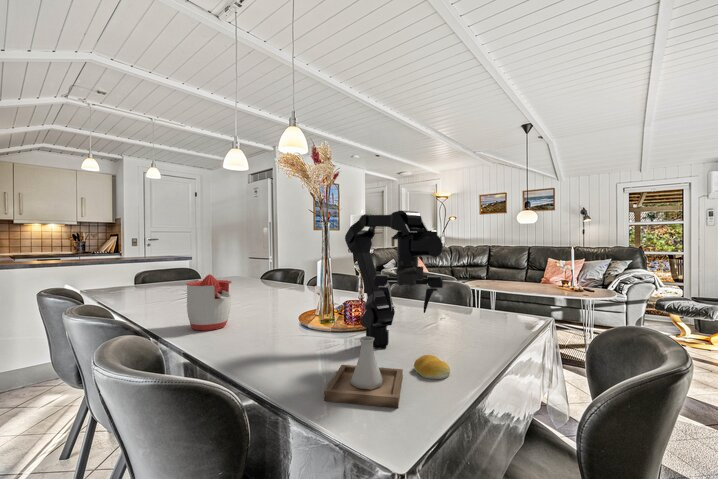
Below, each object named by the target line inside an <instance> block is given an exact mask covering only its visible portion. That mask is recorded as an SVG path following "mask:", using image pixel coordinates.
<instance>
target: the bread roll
mask: <svg viewBox="0 0 718 479" xmlns="http://www.w3.org/2000/svg"><path fill="white" fill-rule="evenodd" d="M413 368H414V370H415V371H416V373H417V374H419V375H420V376H421V377H423V378H424V379H429V380H430V379H431V380H442V379H447V378H448V376H450V374H451V368H450V365H449V364H448V363H447V362H446V361H442V360H441V359H440V358H439V357H437V356H435V355H432V354H424V355H421V356H420V357H418V358H416V360H415V361H414V363H413Z"/></svg>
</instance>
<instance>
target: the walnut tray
mask: <svg viewBox="0 0 718 479" xmlns="http://www.w3.org/2000/svg"><path fill="white" fill-rule="evenodd" d="M355 368H356V365H354V364H353V365H351V364H341V365H340V366H339V368H338V369H337V371H336V372H335V374H334V376H332V378H331V380H330V381H329V383H328V384H327V386H326V387H325V389H324V391H323V401H324V402H331V403H332V402H333V403H343V404H353V405H363V406H371V407H373V406H374V407H383V408H384V407H385V408H395V409H399V404H400V400H401V399H400V398H401V393H402V392H401V391H402V383H403V376H404V374H403V373H404V372H403V371H404V369H402V368H392V367H391V368H389V367H379V370H380V373H381V375H382V378H383V383H382V385H381V386H380V387H377V388H375V389H372V390H370V389H361V388H357V387H355V386H353V385H351V384H350V382H351V379H352V376H353V374H354V371H355Z"/></svg>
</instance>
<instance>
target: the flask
mask: <svg viewBox="0 0 718 479" xmlns="http://www.w3.org/2000/svg"><path fill="white" fill-rule="evenodd" d="M373 341H374V338H373V337H367V336H366V335H365V336H361V337H360V338H359V342H360V351H359V356H358V360H357V362H356V365H355V366H356V368H355V371H354V374H353V376H352V379H351V382H350V384H351V385H353V386H355V387H357V388H361V389H370V390H372V389H375V388H377V387H380V386H381V385H382V383H383V378H382V375H381V373H380V370H379V368H380V367H379V365H378V361H377V358H376V356H375V350H374V348H373Z"/></svg>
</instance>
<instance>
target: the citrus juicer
mask: <svg viewBox="0 0 718 479" xmlns="http://www.w3.org/2000/svg"><path fill="white" fill-rule="evenodd" d="M231 300H232V281H231V280H227V279H226V280H225V279H223V280H221V279H219V280H218V279H216V278H215V276H213V275H212V274H207V275H206V276H205V277H204V278H203V279H202V280H197V281H194V280H193V281H190V282H187V283H186V313H187V317H188V320H189V324H190V326H191V329H193V330H195V331H204V332H208V331H211V330H217V329H221V328H224V327H225V326H227V324H228V320H229V316H230V313H231V305H232V304H231V303H232V302H231Z"/></svg>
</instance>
